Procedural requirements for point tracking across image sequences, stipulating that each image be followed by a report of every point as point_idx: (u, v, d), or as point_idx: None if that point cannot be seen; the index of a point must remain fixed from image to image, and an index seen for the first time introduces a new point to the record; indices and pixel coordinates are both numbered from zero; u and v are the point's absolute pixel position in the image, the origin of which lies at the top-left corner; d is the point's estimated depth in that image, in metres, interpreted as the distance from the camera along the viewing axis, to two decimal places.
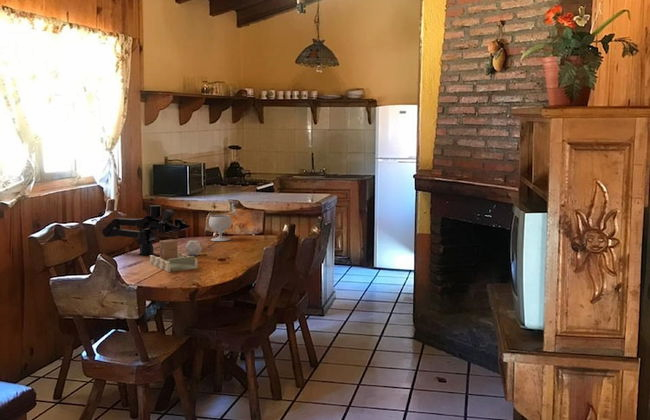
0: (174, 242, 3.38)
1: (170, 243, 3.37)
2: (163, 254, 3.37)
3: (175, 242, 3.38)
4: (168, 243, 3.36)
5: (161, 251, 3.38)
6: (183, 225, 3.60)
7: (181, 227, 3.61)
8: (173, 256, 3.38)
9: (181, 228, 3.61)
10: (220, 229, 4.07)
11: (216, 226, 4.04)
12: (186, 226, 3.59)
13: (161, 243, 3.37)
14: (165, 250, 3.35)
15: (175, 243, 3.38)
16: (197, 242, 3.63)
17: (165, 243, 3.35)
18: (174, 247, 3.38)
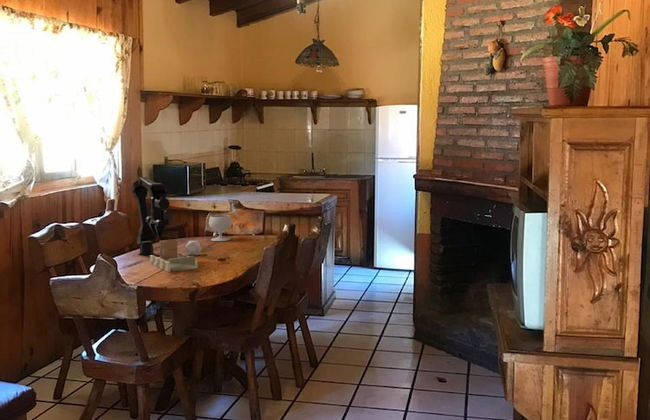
0: (174, 242, 3.38)
1: (170, 243, 3.37)
2: (163, 254, 3.37)
3: (175, 242, 3.38)
4: (168, 243, 3.36)
5: (161, 251, 3.38)
6: (156, 228, 3.52)
7: (153, 226, 3.51)
8: (173, 256, 3.38)
9: (152, 226, 3.51)
10: (220, 229, 4.07)
11: (216, 226, 4.04)
12: (155, 233, 3.52)
13: (161, 243, 3.37)
14: (165, 250, 3.35)
15: (175, 243, 3.38)
16: (197, 242, 3.63)
17: (165, 243, 3.35)
18: (174, 247, 3.38)
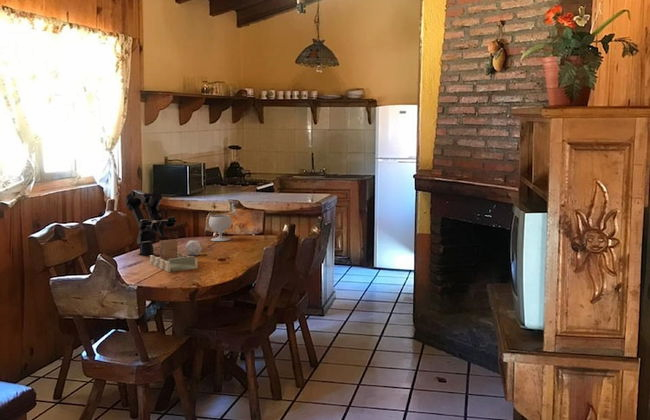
0: (174, 242, 3.38)
1: (170, 243, 3.37)
2: (163, 254, 3.37)
3: (175, 242, 3.38)
4: (168, 243, 3.36)
5: (161, 251, 3.38)
6: None
7: None
8: (173, 256, 3.38)
9: None
10: (220, 229, 4.07)
11: (216, 226, 4.04)
12: None
13: (161, 243, 3.37)
14: (165, 250, 3.35)
15: (175, 243, 3.38)
16: (197, 242, 3.63)
17: (165, 243, 3.35)
18: (174, 247, 3.38)
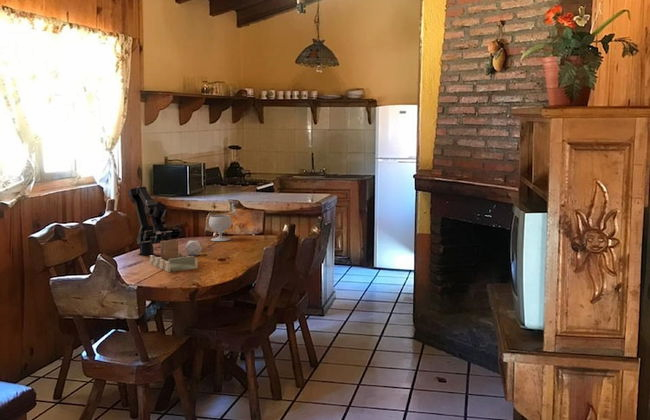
0: (175, 243, 3.37)
1: (171, 243, 3.36)
2: (163, 254, 3.36)
3: (176, 242, 3.37)
4: (169, 243, 3.35)
5: (161, 251, 3.38)
6: None
7: None
8: (174, 256, 3.37)
9: None
10: (220, 229, 4.07)
11: (216, 226, 4.04)
12: None
13: (162, 243, 3.36)
14: (166, 250, 3.34)
15: (176, 243, 3.37)
16: (197, 242, 3.63)
17: (166, 243, 3.34)
18: (175, 247, 3.37)
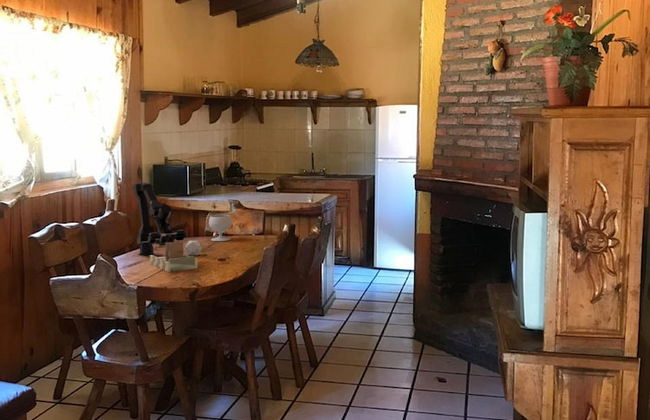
0: (180, 244, 3.31)
1: (176, 245, 3.30)
2: (168, 256, 3.30)
3: (181, 244, 3.32)
4: (174, 245, 3.30)
5: (166, 253, 3.32)
6: None
7: None
8: None
9: None
10: (220, 229, 4.07)
11: (216, 226, 4.04)
12: None
13: (167, 245, 3.31)
14: (171, 252, 3.29)
15: (181, 245, 3.32)
16: (197, 242, 3.63)
17: (171, 245, 3.29)
18: (180, 249, 3.32)
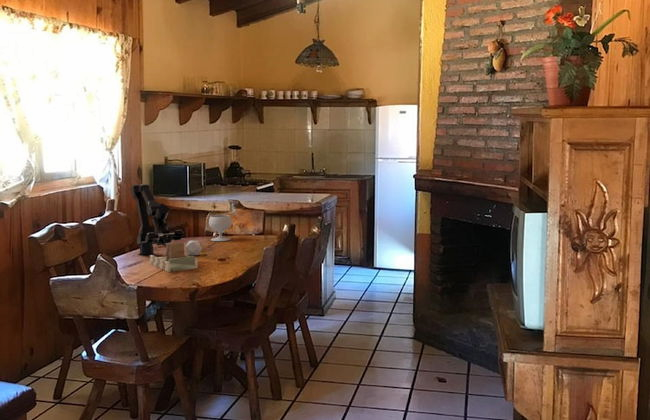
0: (181, 245, 3.31)
1: (177, 246, 3.29)
2: (169, 257, 3.30)
3: (182, 244, 3.31)
4: (175, 246, 3.29)
5: (167, 253, 3.31)
6: None
7: None
8: None
9: None
10: (220, 229, 4.07)
11: (216, 226, 4.04)
12: None
13: (168, 245, 3.30)
14: (172, 253, 3.28)
15: (182, 246, 3.31)
16: (197, 242, 3.63)
17: (172, 246, 3.28)
18: (181, 250, 3.31)
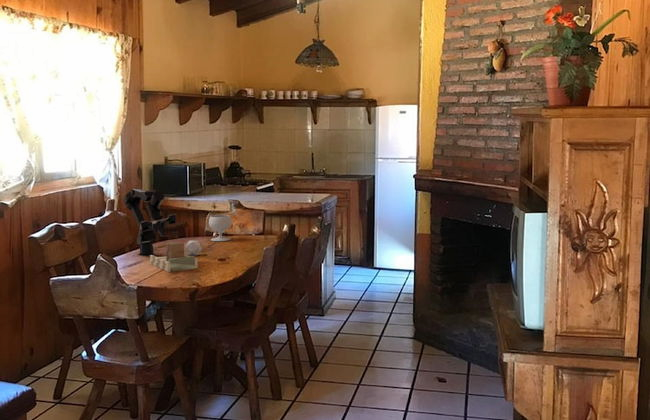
0: (181, 245, 3.31)
1: (177, 246, 3.29)
2: (169, 257, 3.30)
3: (182, 244, 3.31)
4: (175, 246, 3.29)
5: (167, 253, 3.31)
6: None
7: None
8: None
9: None
10: (220, 229, 4.07)
11: (216, 226, 4.04)
12: None
13: (168, 245, 3.30)
14: (172, 253, 3.28)
15: (182, 246, 3.31)
16: (197, 242, 3.63)
17: (172, 246, 3.28)
18: (181, 250, 3.31)
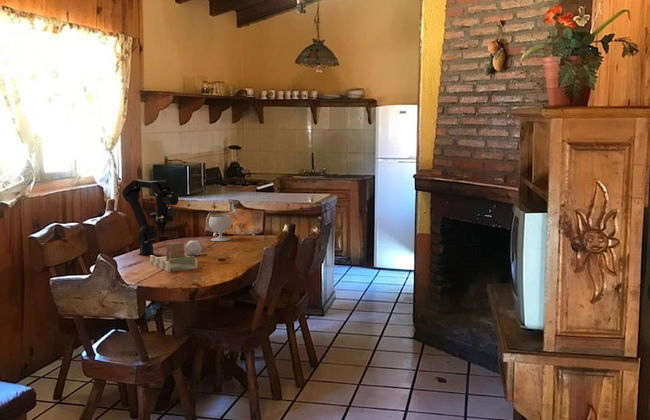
0: (181, 245, 3.31)
1: (177, 246, 3.29)
2: (169, 257, 3.30)
3: (182, 244, 3.31)
4: (175, 246, 3.29)
5: (167, 253, 3.31)
6: None
7: None
8: None
9: None
10: (220, 229, 4.07)
11: (216, 226, 4.04)
12: None
13: (168, 245, 3.30)
14: (172, 253, 3.28)
15: (182, 246, 3.31)
16: (197, 242, 3.63)
17: (172, 246, 3.28)
18: (181, 250, 3.31)
